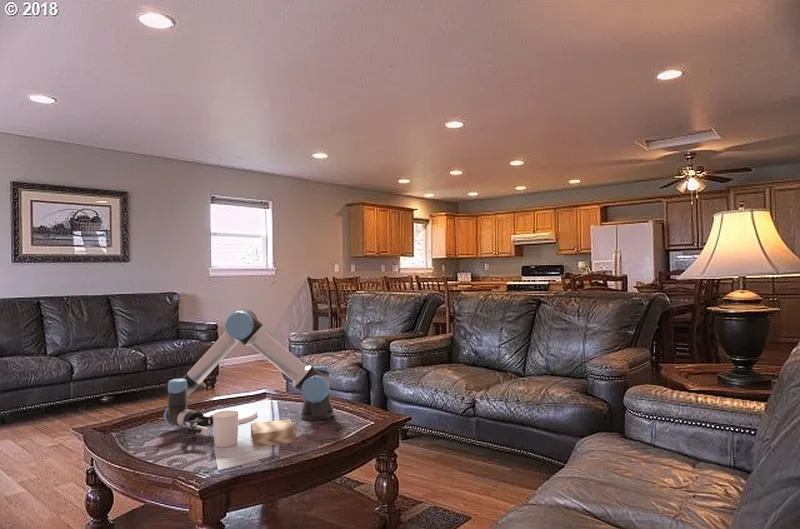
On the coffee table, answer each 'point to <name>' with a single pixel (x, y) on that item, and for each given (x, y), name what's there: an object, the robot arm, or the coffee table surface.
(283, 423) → the maple riser
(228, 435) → the candle holder
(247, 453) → the coffee table surface
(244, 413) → the decorative plate
